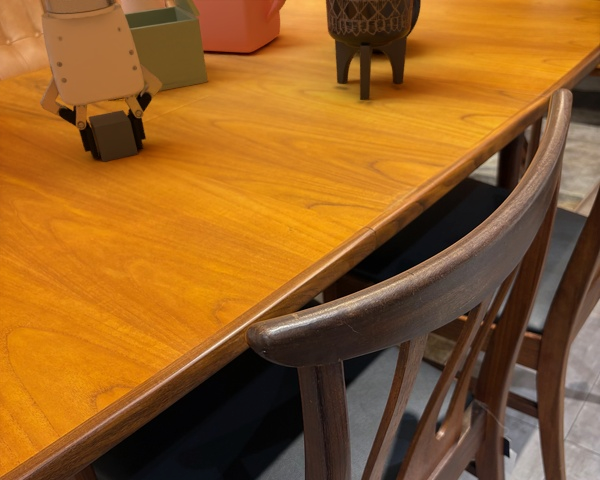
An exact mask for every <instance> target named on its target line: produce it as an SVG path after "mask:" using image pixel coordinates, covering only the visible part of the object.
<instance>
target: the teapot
mask: <svg viewBox="0 0 600 480" xmlns="http://www.w3.org/2000/svg"><path fill="white" fill-rule="evenodd" d="M192 1H193V2H194V4H195V6H196V8H197V9H198V11H199V13H200V15H199V16H197V17H196V18H198V19H199V25H200V32H201V39H202V45H203V51H211V52H227V53H228V52H229V53H253V52H254V51H257V50H259V49H260V48H262V47H264V46H265V45H267V44H268V43H270V42H271V41H273V40H275V38H277V37H278V36H279V35H280V32H281V13H280V11H281V9H282V8H283V7H284V5H285V3H286V1H287V0H192ZM190 14H191V13H190ZM191 15H192V14H191ZM193 16H194V15H193Z"/></svg>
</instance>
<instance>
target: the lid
mask: <svg viewBox="0 0 600 480" xmlns="http://www.w3.org/2000/svg"><path fill="white" fill-rule="evenodd" d="M172 1H173V3H174V4H175V6H179V7H180V8H182V9H183V10H185V11H187V12H188V13H191V14H192V15H194V16H195V17H197V16H199V15H200V13H199V11H198V9H197V8H196V6H195V4H194V2H193V1H192V0H172Z"/></svg>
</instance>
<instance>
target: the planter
mask: <svg viewBox="0 0 600 480" xmlns="http://www.w3.org/2000/svg"><path fill="white" fill-rule="evenodd" d="M412 7H413V0H325V8H326V24H327V32H328V34H329V36H330V37H331V39H333V40H334V45H335V46H334V49H335V65H336V83H337V84H342V85H343V84H347V82H349V70H350V67H351V63H352V61H353V58H354V57H355V55H356V54H357V53H358V52H359V100H361V101H362V100H364V101H365V100H366V101H367V100H370V98H371V97H370V96H371V95H370V94H371V70H372V57H373V52H372V51H373V49H378V50H380V51H381V52H382V53H383V54H384V55H385V57H386V58H387V60H388V61H389V63H390V64H389V65H390V67H391V73H392V82H393V83H394V84H396V85H399V84H403V83H404V77H405V66H406V65H405V64H406V54H407V53H406V52H407V40H408V37H407V34H408V32H409V31H410V28H411V18H412Z"/></svg>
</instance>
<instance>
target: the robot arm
mask: <svg viewBox="0 0 600 480" xmlns="http://www.w3.org/2000/svg"><path fill="white" fill-rule="evenodd" d="M43 2H44V5H45V8H46V12H44V13H42V14H41V27H42V28H41V29H42V34H43V40H44V46H45V50H46V55H47V58H48V63H49V67H50V71H51V74H52V75H51V78H50V80H49V82H48V84H47V87H46V89H45V91H44V93H43V95H42V97H41V98H40V106H41V108H42V109H43V110H44V111H47V112H48V113H51V114H53V115H55V116H58V117H60V118H61V119H63V120H64V121H66V122H68V123H69V124H71V125H72V126H74V127H76V128H77V129H78V132H79V135H80V140H81V142H82V146H83V149H84V151H85V153H87V152H90V154H91V156H92V158H93V160H97V159H99V158H100V155H99V153H98V150H97V146H96V143H95V139H94V135H93V132H92V128H91V125H90V122H88V119H87V116H88V114H87V113H88V105H90V104H96V103H101V102H106V101H108V100H109V101H113V100H112V99H115V100H118V99H117V98H120V99H124V101H125V103H126V105H127V106H128V108H129V109H128V110H127V111H128V112H127V114H126V115H127V117H128V118H129V120H130V121H131V126H132V130H133V134H134V139H135V143H136V148H137V150H143V149H144V145H143V141H144V140H147V137H146V132H145V127H144V123H143V119H142V118H143V116H144V115H145V114H144V112H145V111H146V109H147V108H148V107H149V105H150V103H151V102H152V100H153V98H154V97H155V96H156V95H157V94H158V92H160V91H159V90H160V88H161V87H162V82H161V81H160V80H159V79H158V78H157V77H156V76H154V75H153V74H152V73H151V72H150V71H149V70H148V69H147V68H145V67H144V66H143V65H142V64H141V63H140V62H139V59H138V55H137V51H136V48H135V44H134V41H133V37H132V34H131V31H130V28H129V25H128V22H127V19H126V17H125V14H124V12H123V10H122V5H121V3H120V4H119V3H116V2H117V1H116V0H43ZM143 79H144V80H145V81H146V82H147V85H146V86H145V88H144V80H143ZM143 88H144V89H143ZM140 91H141V92H140ZM139 92H140V93H139ZM137 93H139V95H136V96H134V95H135V94H137ZM58 96H59V97H60V99H61V101H62V103H64V104H61V103H59V102H58V101H57V98H58ZM122 97H123V98H122ZM65 104H66V105H67V106H72V108H70V107H67V106H66V105H65Z"/></svg>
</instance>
